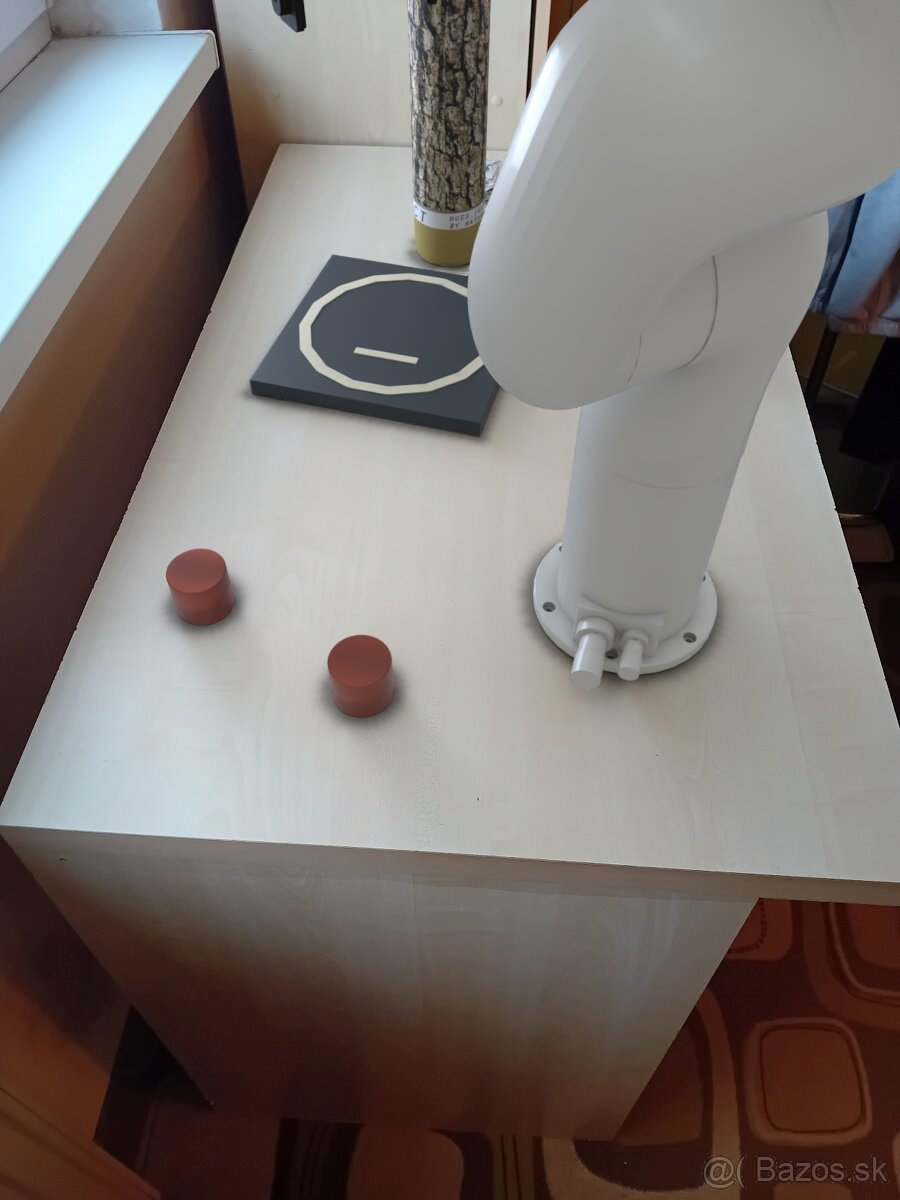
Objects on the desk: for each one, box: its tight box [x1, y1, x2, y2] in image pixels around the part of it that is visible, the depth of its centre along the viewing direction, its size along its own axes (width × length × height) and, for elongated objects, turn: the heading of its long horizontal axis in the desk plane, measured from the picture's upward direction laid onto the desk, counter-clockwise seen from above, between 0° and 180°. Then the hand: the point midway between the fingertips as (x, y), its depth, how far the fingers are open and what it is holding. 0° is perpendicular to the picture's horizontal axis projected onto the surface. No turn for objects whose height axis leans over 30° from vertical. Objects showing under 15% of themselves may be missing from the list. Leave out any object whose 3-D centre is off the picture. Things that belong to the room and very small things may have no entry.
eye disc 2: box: [326, 634, 395, 718], centre depth 61 cm, size 4×4×4 cm
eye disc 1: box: [165, 548, 236, 626], centre depth 66 cm, size 4×4×4 cm
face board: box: [249, 254, 501, 437], centre depth 86 cm, size 20×20×2 cm
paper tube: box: [406, 0, 492, 267], centre depth 86 cm, size 7×7×25 cm
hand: (359, 11), depth 66 cm, fingers open, 9 cm apart
